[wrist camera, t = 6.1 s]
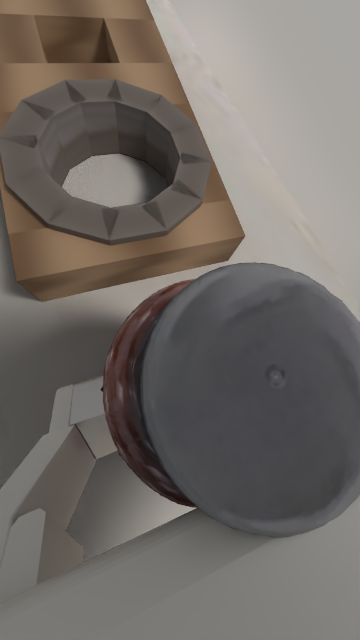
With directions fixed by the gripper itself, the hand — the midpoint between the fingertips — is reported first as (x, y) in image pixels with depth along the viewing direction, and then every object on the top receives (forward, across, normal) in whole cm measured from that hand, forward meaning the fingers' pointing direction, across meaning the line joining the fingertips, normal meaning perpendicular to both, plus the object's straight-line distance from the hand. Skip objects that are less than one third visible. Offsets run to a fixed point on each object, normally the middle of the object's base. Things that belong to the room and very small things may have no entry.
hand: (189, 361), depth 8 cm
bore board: (+17, 0, -9) cm, 19 cm away
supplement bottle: (+4, 0, +5) cm, 6 cm away
